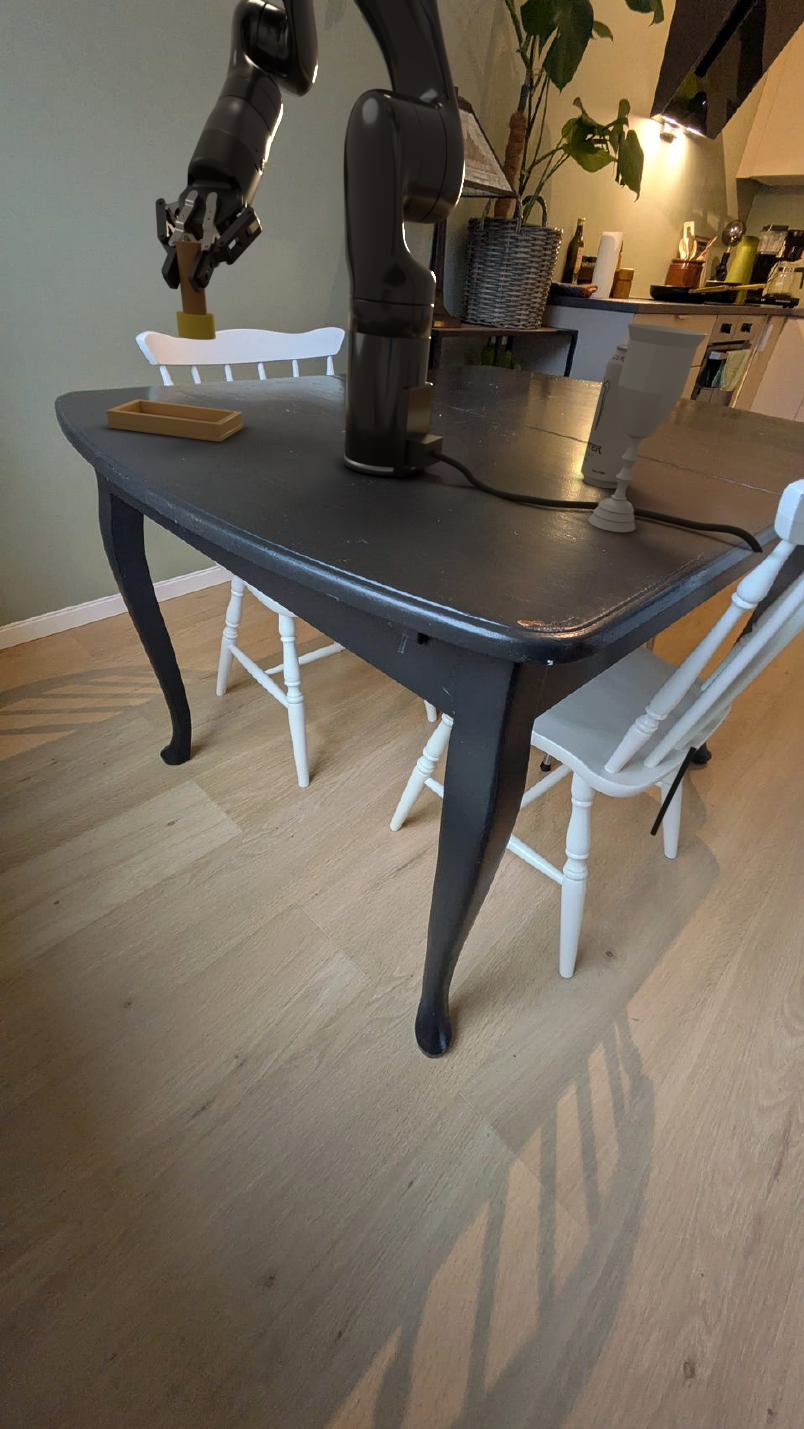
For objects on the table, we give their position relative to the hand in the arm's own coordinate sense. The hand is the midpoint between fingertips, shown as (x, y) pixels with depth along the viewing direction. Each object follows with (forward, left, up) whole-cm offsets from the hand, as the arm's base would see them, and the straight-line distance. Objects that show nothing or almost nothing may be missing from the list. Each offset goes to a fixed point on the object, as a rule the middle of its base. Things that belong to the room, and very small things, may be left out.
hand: (182, 284), depth 73 cm
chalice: (-54, -6, -17) cm, 57 cm away
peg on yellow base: (0, -2, -5) cm, 6 cm away
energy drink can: (-49, -21, -17) cm, 56 cm away
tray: (+4, -1, -16) cm, 17 cm away
